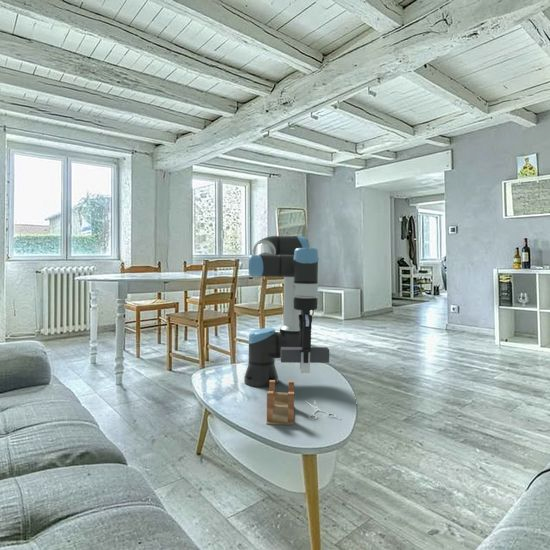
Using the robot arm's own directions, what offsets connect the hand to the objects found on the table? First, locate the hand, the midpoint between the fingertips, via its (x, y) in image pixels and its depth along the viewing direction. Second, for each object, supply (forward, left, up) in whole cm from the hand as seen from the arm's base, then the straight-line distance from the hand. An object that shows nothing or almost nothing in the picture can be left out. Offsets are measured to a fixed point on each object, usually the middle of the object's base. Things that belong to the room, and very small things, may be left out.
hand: (304, 370), depth 122 cm
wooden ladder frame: (-12, -8, -19) cm, 24 cm away
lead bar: (0, 0, +3) cm, 3 cm away
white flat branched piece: (-18, +5, -20) cm, 27 cm away
